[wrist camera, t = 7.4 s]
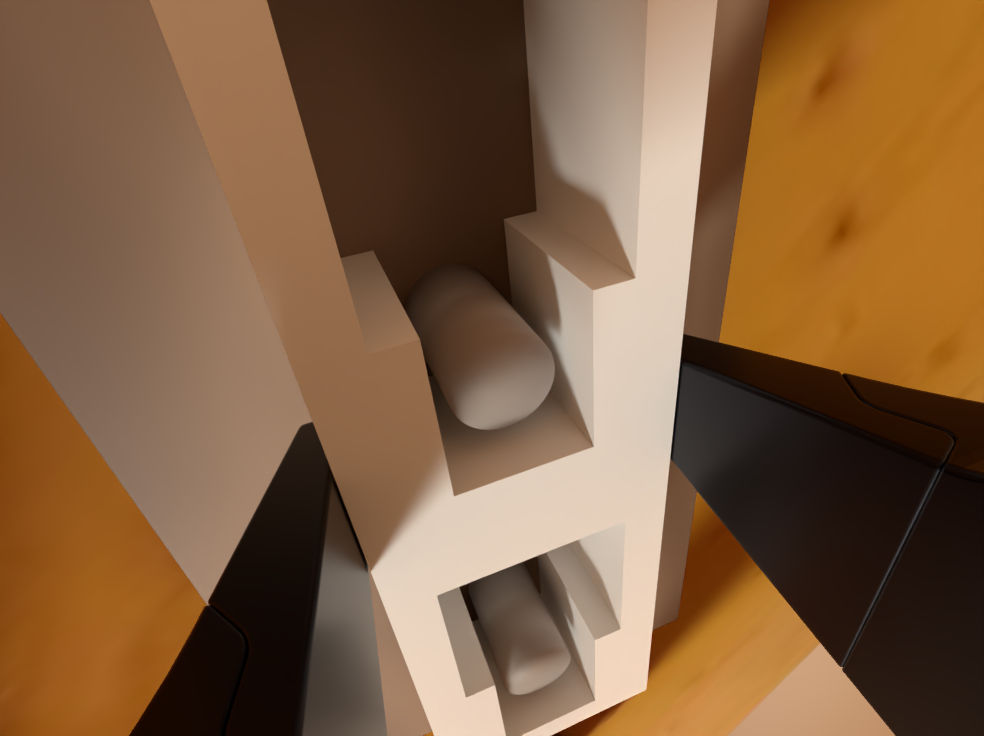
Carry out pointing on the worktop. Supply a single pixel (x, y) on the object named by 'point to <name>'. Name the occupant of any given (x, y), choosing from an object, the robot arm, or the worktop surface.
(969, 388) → the worktop surface
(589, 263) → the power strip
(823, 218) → the worktop surface
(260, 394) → the peg board
